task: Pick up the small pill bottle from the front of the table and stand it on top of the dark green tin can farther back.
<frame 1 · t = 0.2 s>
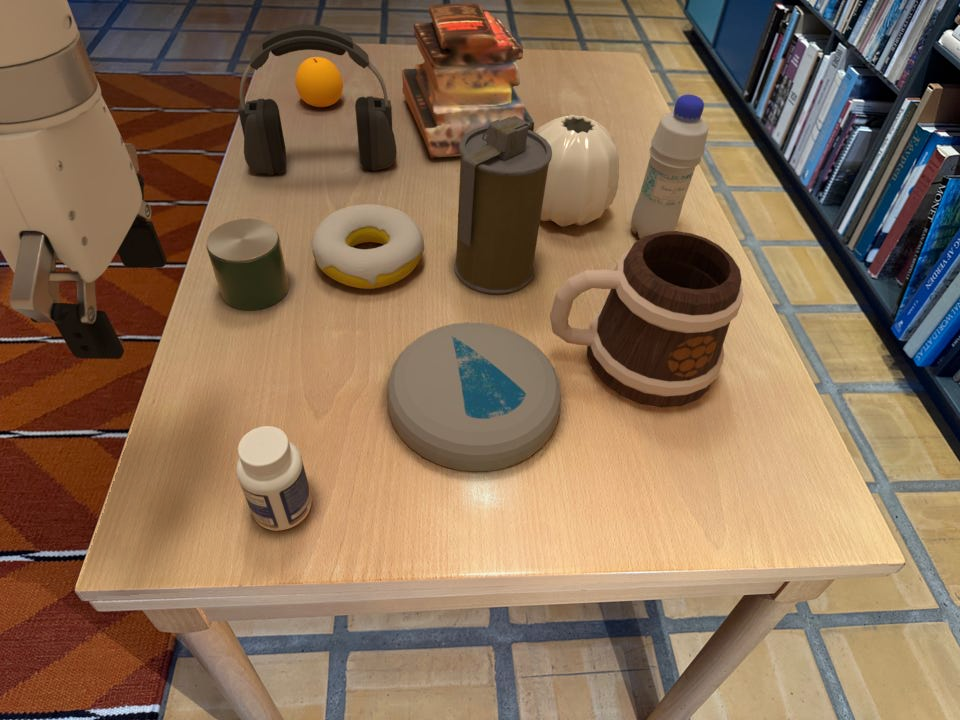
hand: (124, 307, 48), 20 cm above the table, tool pointing down, fingers open, 9 cm apart
bottle: (649, 234, 92), on the table
canister: (492, 270, 85), on the table
headphones: (324, 165, 99), on the table
vase: (562, 211, 95), on the table
mug: (627, 362, 75), on the table
tin can: (255, 288, 79), on the table
donut: (370, 261, 84), on the table
pill bottle: (282, 507, 60), on the table
frisbee: (473, 400, 70), on the table
book: (465, 126, 110), on the table
orange: (321, 103, 113), on the table
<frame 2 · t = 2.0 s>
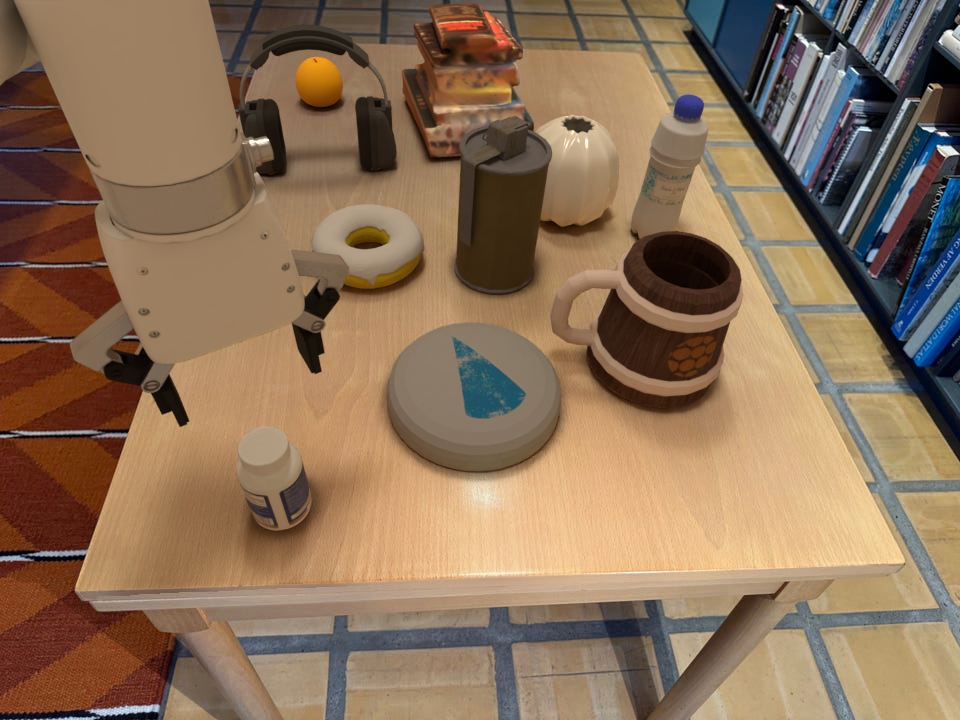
hand: (247, 385, 47), 17 cm above the table, tool pointing down, fingers open, 9 cm apart
nothing on the table moved.
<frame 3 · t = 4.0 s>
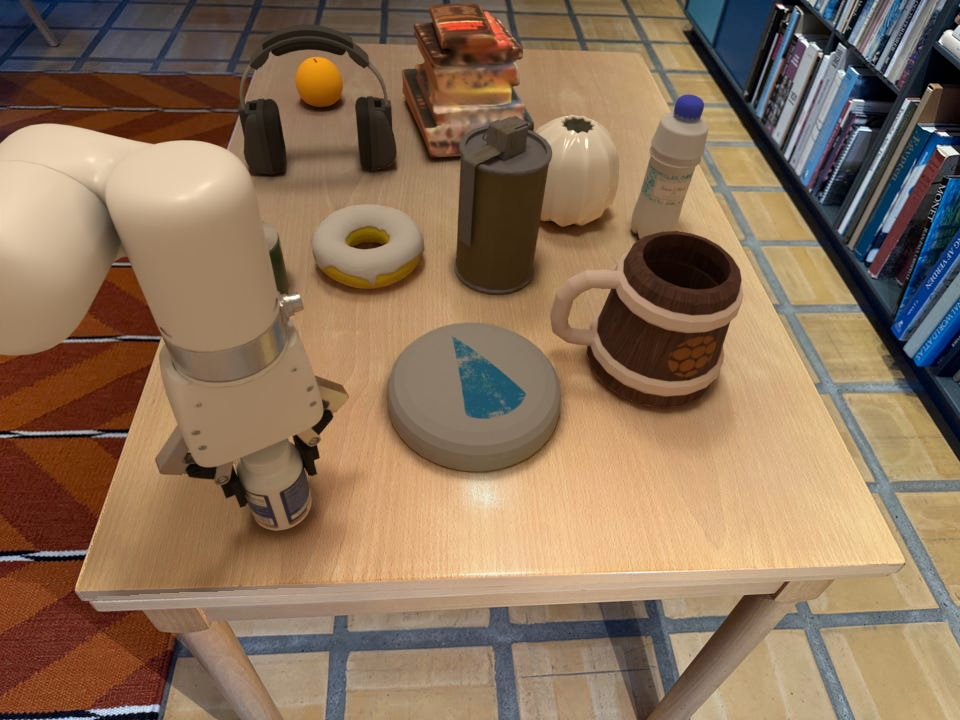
hand: (273, 477, 56), 5 cm above the table, tool pointing down, fingers closed on pill bottle, 5 cm apart
pill bottle: (282, 507, 60), on the table, touching gripper
everything else where it was.
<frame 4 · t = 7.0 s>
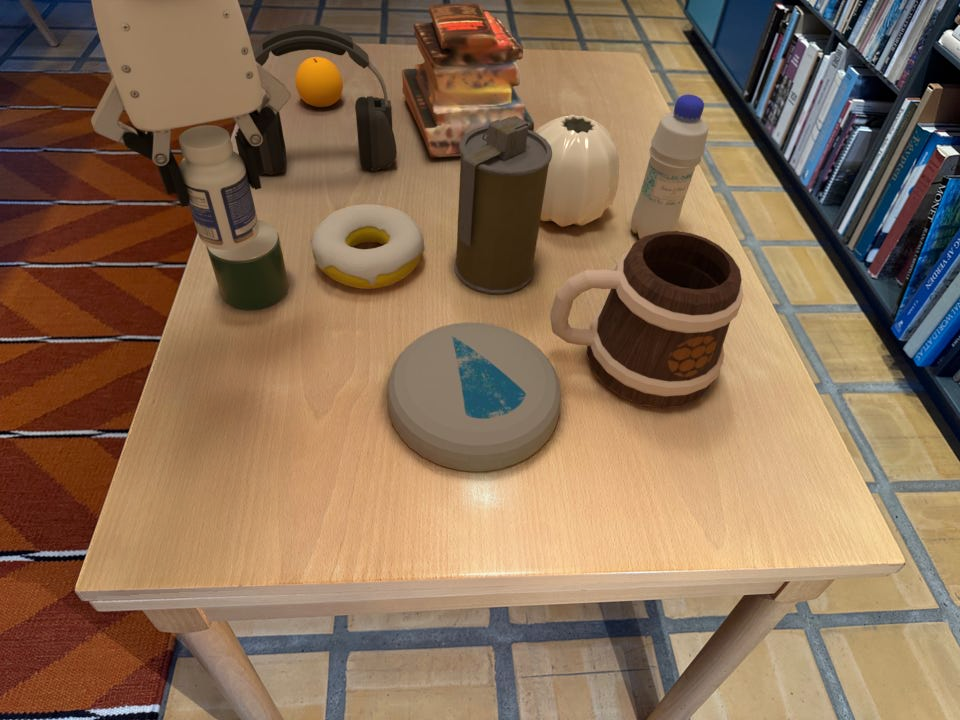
hand: (217, 187, 56), 21 cm above the table, tool pointing down, fingers closed on pill bottle, 5 cm apart
pill bottle: (230, 235, 60), point 16 cm above the table, touching gripper
everything else where it was.
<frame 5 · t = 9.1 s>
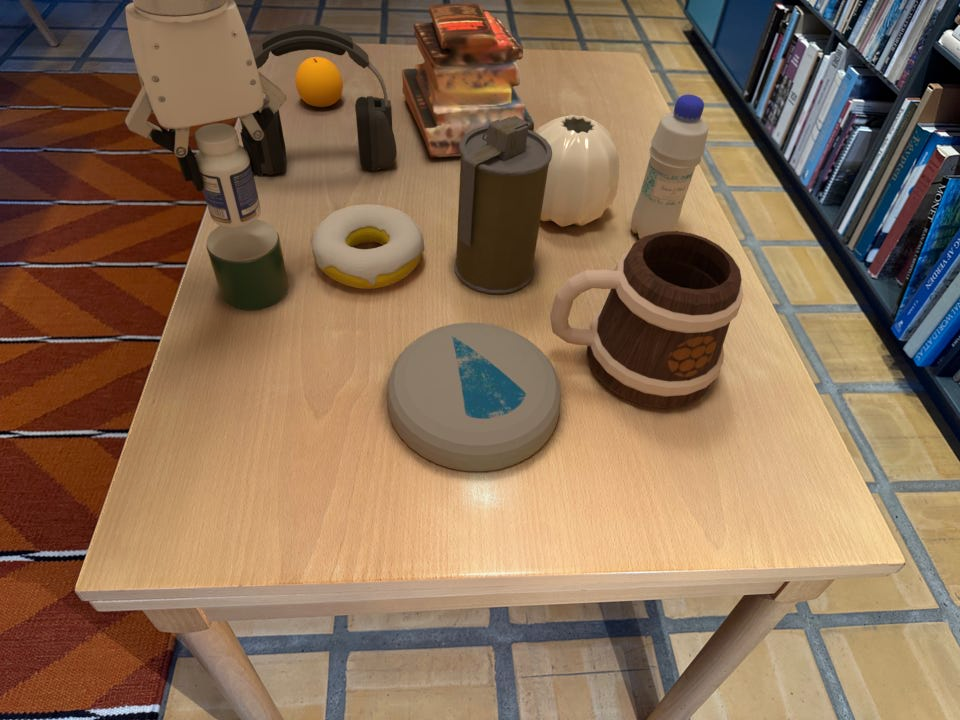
hand: (226, 175, 68), 16 cm above the table, tool pointing down, fingers closed on pill bottle, 5 cm apart
pill bottle: (236, 216, 72), point 11 cm above the table, touching gripper
everything else where it was.
when the fingers open (12 cm above the table, at t = 10.4 s): pill bottle stays where it is, resting on tin can.
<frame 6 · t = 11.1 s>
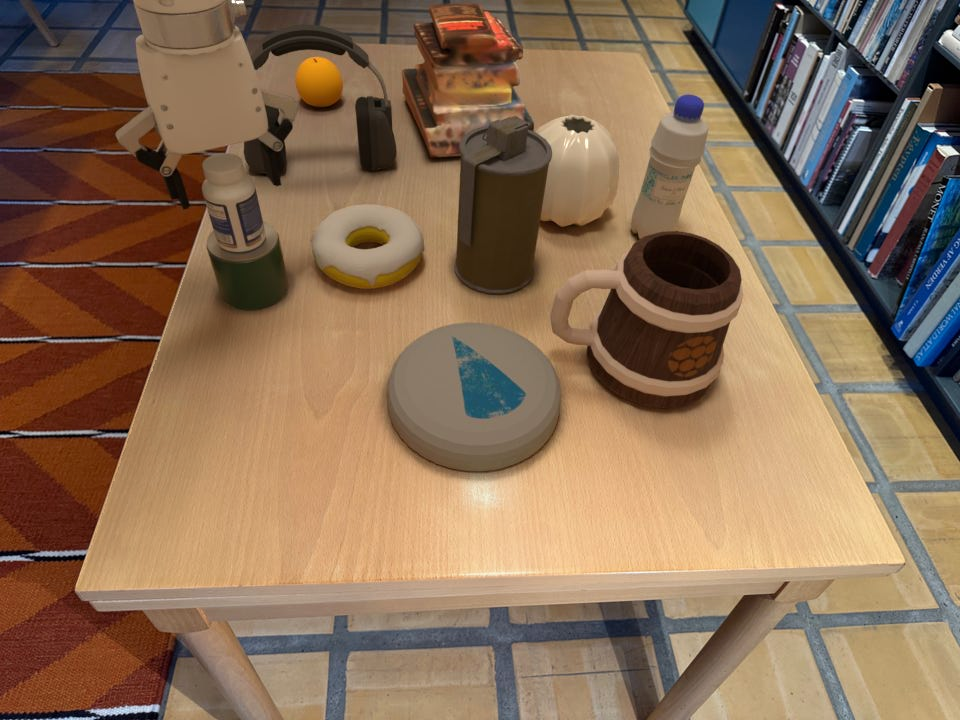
hand: (229, 190, 69), 14 cm above the table, tool pointing down, fingers open, 9 cm apart
tin can: (255, 288, 79), on the table, touching pill bottle
pill bottle: (242, 240, 74), point 7 cm above the table, touching tin can
everything else where it was.
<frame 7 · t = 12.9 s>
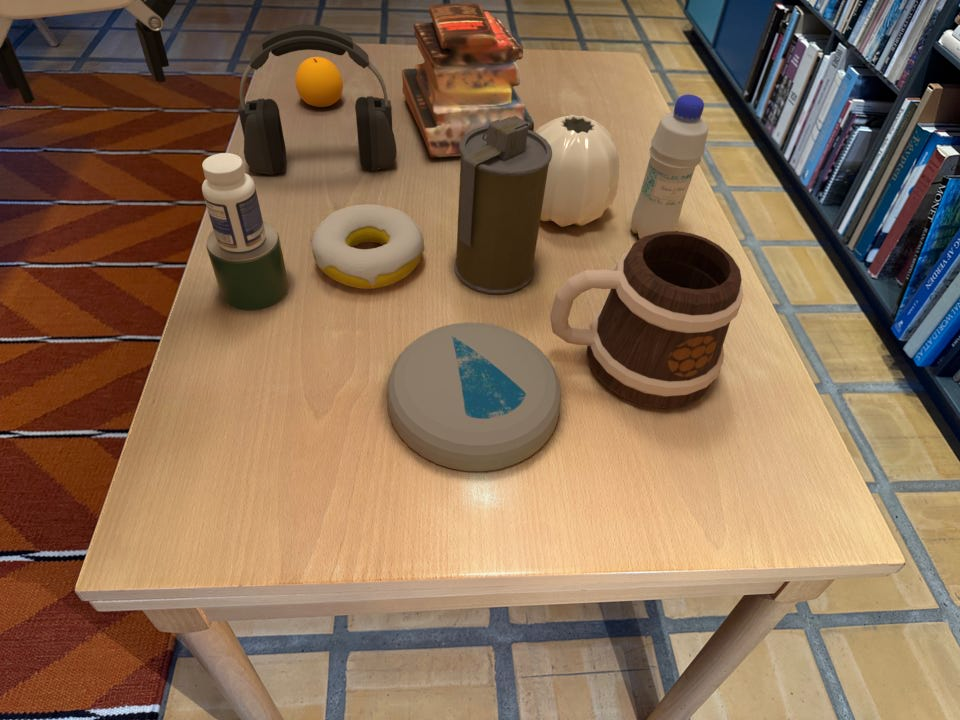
hand: (95, 85, 52), 29 cm above the table, tool pointing down, fingers open, 9 cm apart
nothing on the table moved.
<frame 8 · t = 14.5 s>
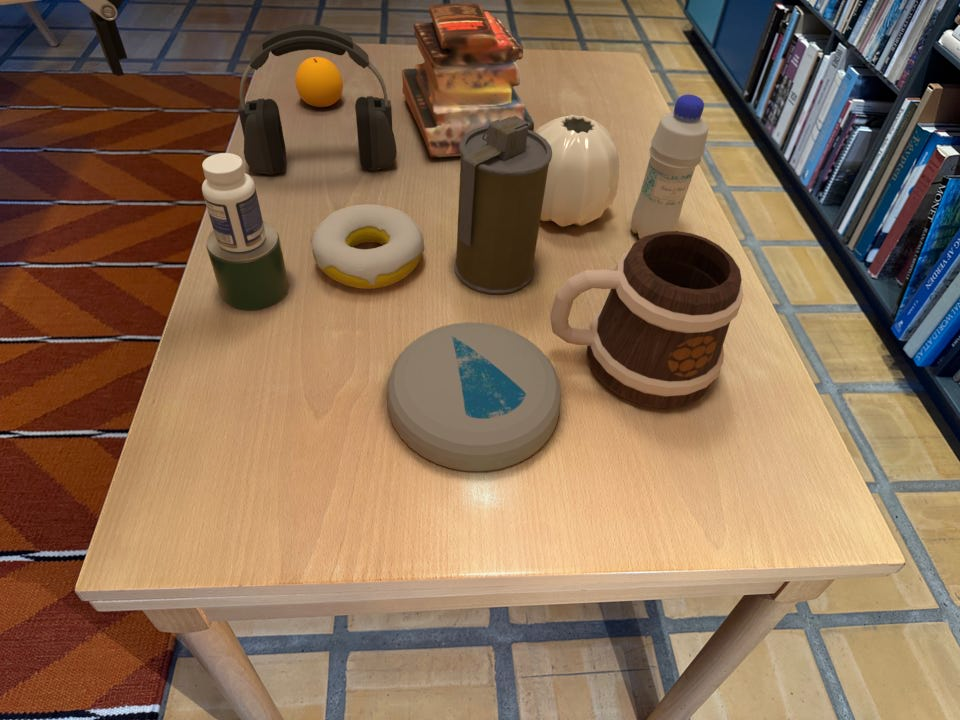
hand: (48, 80, 49), 30 cm above the table, tool pointing down, fingers open, 9 cm apart
nothing on the table moved.
at the end: pill bottle 0.1 cm off-centre on the tin can, point 7.3 cm above the tin can's base; pill bottle tilted 0°; tin can tilted 0° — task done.
